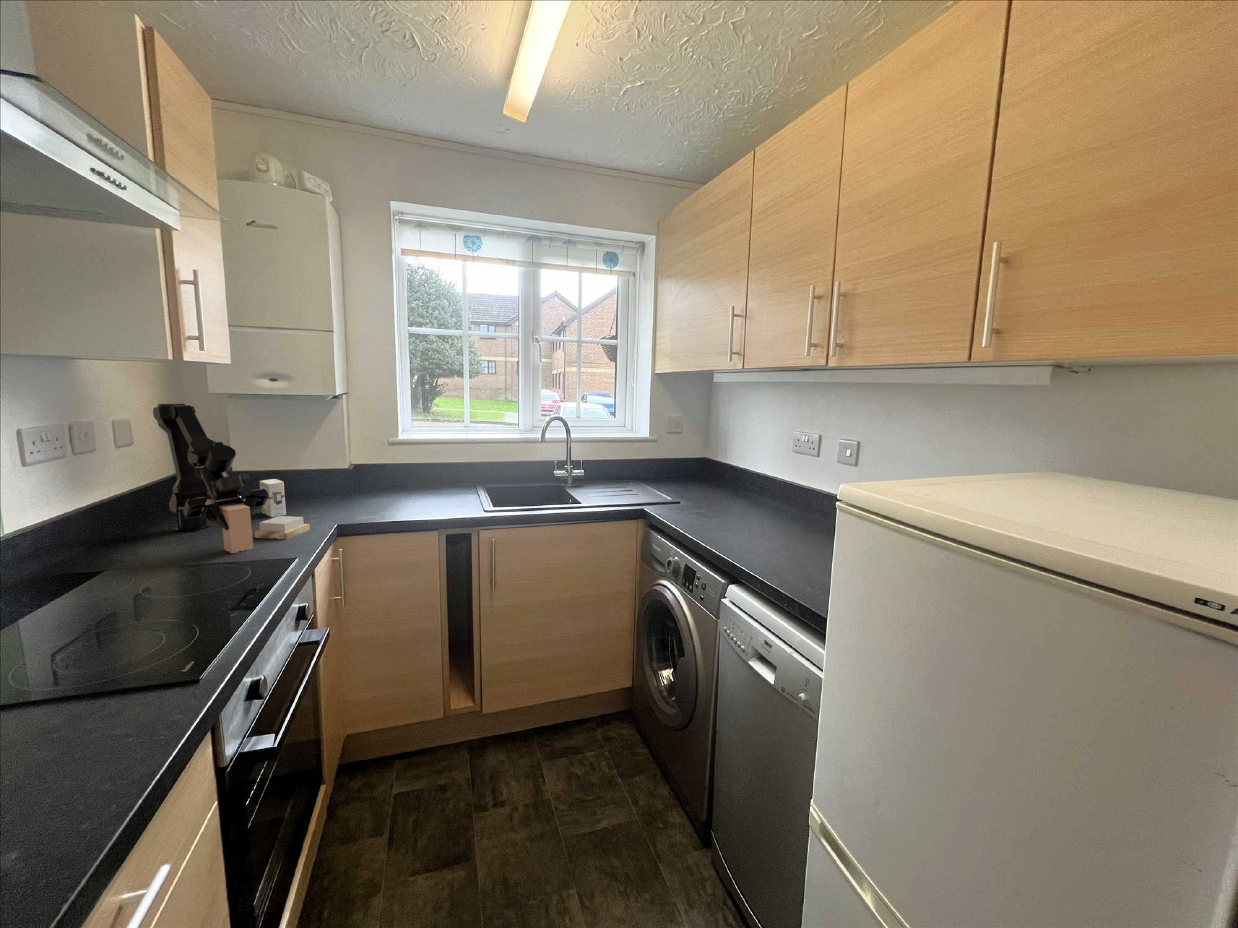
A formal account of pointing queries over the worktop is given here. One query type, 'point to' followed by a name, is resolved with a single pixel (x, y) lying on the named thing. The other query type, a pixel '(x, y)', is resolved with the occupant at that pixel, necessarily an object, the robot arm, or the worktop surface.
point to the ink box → (274, 497)
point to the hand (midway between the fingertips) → (239, 527)
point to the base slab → (282, 533)
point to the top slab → (281, 524)
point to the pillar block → (237, 528)
